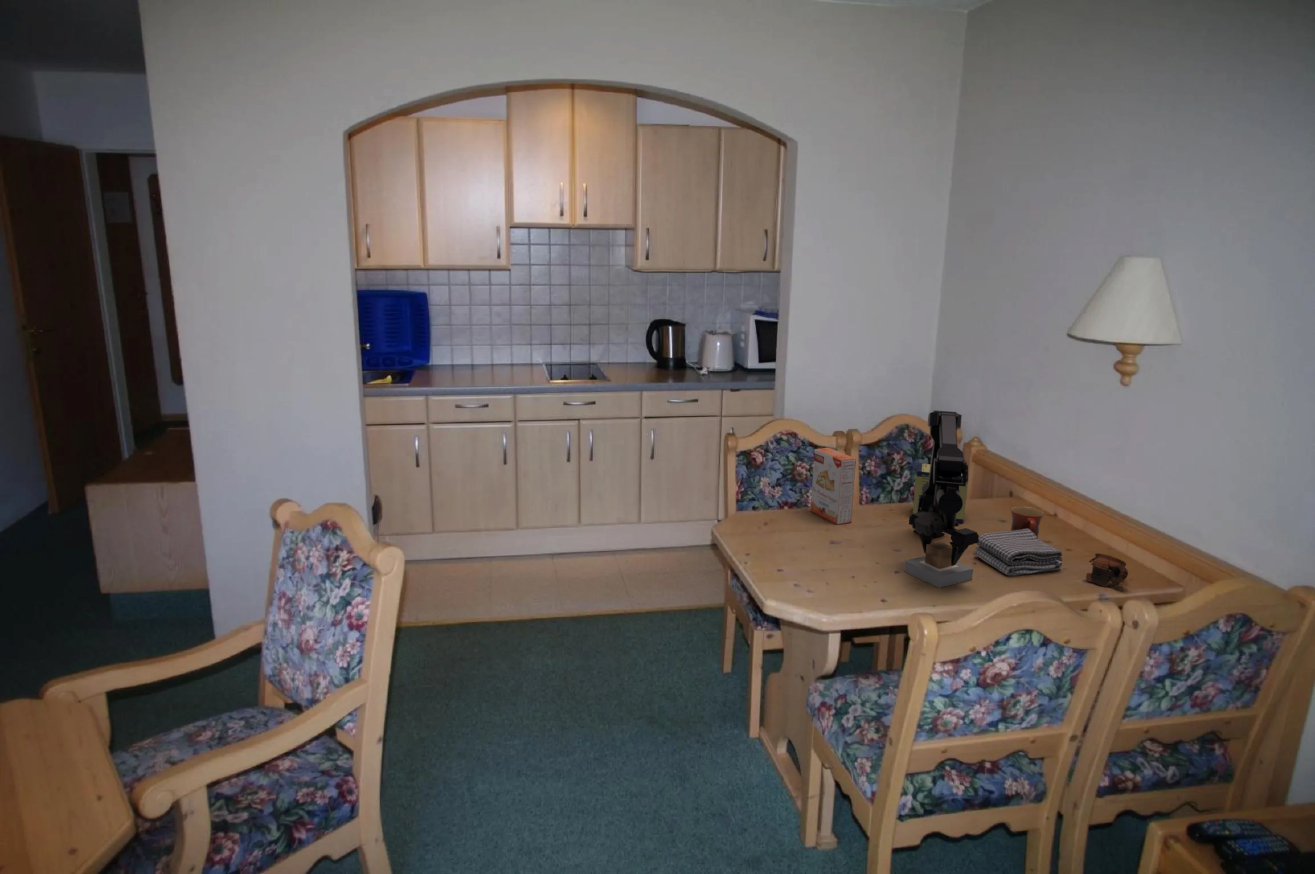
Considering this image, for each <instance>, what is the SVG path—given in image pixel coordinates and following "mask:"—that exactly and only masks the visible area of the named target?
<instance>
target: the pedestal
mask: <svg viewBox="0 0 1315 874" xmlns="http://www.w3.org/2000/svg"><path fill="white" fill-rule="evenodd" d="M903 571H904V573H908V574H909V575H911V576H914V577H915V578H918V579H920V580H921V581H923V582H926V583H928V584H930V585H932V586H934V587H937V588H938V589H940V588H943V587H948V586H951V585H956V584H960V583H964V582H967V581H972V580H973V574H974V568H972V567H971V566H969V565H966V564H964V563H962V562H959V561H958V562H957V563H956V565H954V566H950V567H946V568H941V569H938V568H936V567H934V566H932V565H930V564H927V563H925V555H924V556H920V557H916V558H910V559H906V560H904V570H903Z"/></svg>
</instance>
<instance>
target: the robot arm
mask: <svg viewBox="0 0 1315 874" xmlns="http://www.w3.org/2000/svg"><path fill="white" fill-rule="evenodd" d="M927 427H929V434H930V436H931V439H932V440H933V442H932V450H931V458H930V472H929V480H928V482H927V483H926V484H925V485H924V486H923V487H922V491H921V495H919V496H918V500H917V507H916V511H917V513H914V514H913V513H912V514H911V515H910V516H909V517H908V525H910V526H911V527H912V529H913V532H914V533H916V534H918V535H919V538H920V542H921V546H922V549H923V552H924V555H926V545H927V544H931V543H933V538H936V537H937V538H938V537H942V536H945V534H947V535H950V540H951V541H949V545H950V546H952V556H951V565H952V566H954V565H956V563H957V562H959V560H960V558H961V557H962V556H963V554H964V553H965V551H966V550H967V549H968V548H969V546H972V545H974V544H976V543H978V540H979V537H980V535H979V533H978V531H975V530H972V529H969V528H967V527H964V528H960V529H957V528H955V527H959V525H960V523H959V522H957V521H955V520H956V513H958V512H959V511H960V510H961V508H962V506H963V501H962V498H961V495H960V492H959V486H966V482H969V465H968V464H967V463H968V461H967V459H966V460H965V458H964V452H963V451H962V450H961V449H960V448H959V445H958V429H961V428H962V414H959V413H958V412H957V411H947V410H932V411H931V412H929V413H928V417H927ZM961 474H962V479H954V478H961ZM920 508H921V509H920Z"/></svg>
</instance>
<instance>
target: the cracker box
mask: <svg viewBox="0 0 1315 874" xmlns="http://www.w3.org/2000/svg"><path fill="white" fill-rule="evenodd" d="M856 465H857V458H856V457H853V456H851V455H848V454H846V453H844V452H841V451H838V450H835V449H834V448H831V447H820V448H815V449H814V454H813V471H812V473H813V474H812V487H811V502H810V512H812V513H814V514H816V515H818V516H819V517H822V518H823V519H824V520H827V521H829V522H830V523H833V524H834V525H838V524H839V525H844V524H849V523H852V518H853V516H852V515H853V506H854V505H853V503H854V502H853V501H854V490H855V478H856Z"/></svg>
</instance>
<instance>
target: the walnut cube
mask: <svg viewBox="0 0 1315 874" xmlns="http://www.w3.org/2000/svg"><path fill="white" fill-rule="evenodd" d="M924 556H925V563H927V564H930V565H932V566H934V567H936V568H938V569H941V568H946V567H950V566H952V565H951V556H952V546H951V544H947V543H946V542H943V541H937V542H936V541H935V542H931V544H927V545H926V554H924Z"/></svg>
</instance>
